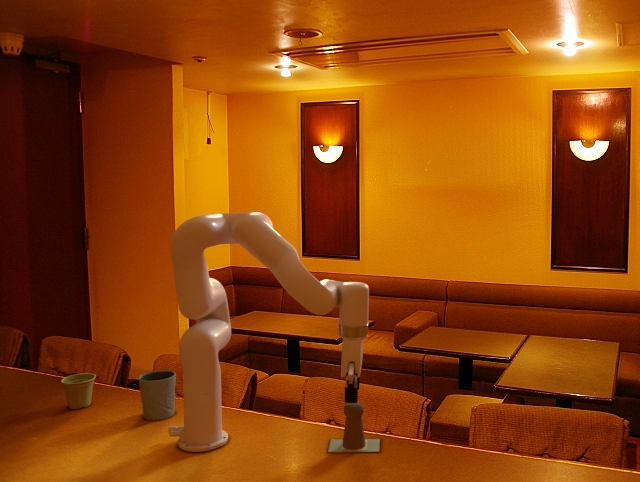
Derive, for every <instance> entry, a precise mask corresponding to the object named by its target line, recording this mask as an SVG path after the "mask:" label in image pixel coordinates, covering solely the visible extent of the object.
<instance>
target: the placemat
mask: <svg viewBox="0 0 640 482" xmlns="http://www.w3.org/2000/svg"><path fill="white" fill-rule="evenodd" d="M380 442H381V439H380V438H365V443H366V445H365V447H363V448H361V449H357V450H349V449H346V448H344V447H343V446H342V444H343V438H331V439H330V442H329V446H328V451H327V453H329V454H330V453H331V454H332V453H335V454H336V453H337V454H338V453H344V454H345V453H380V448H381V447H380Z"/></svg>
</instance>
